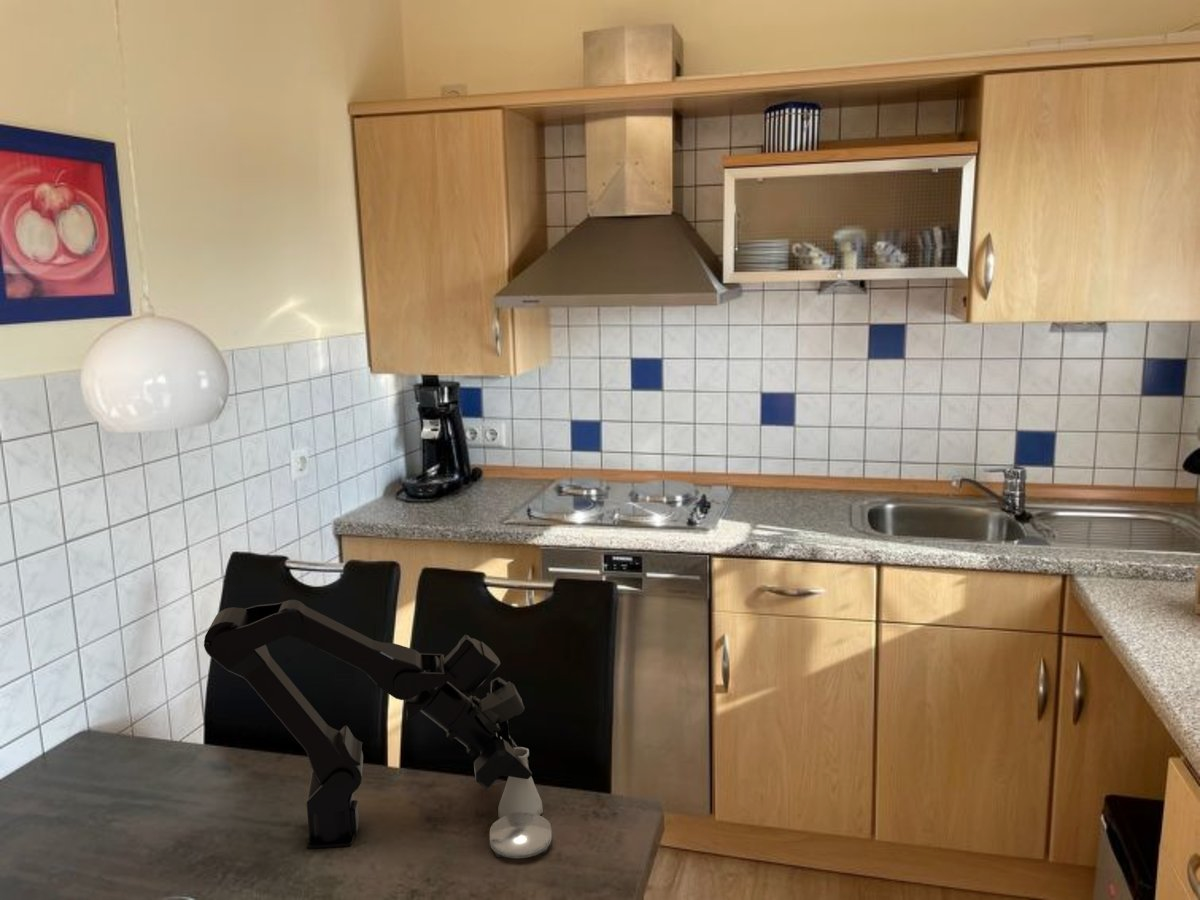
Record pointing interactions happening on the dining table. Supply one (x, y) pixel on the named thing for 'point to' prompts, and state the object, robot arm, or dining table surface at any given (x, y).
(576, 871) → the dining table surface
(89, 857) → the dining table surface
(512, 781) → the flask
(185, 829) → the dining table surface
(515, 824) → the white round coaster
